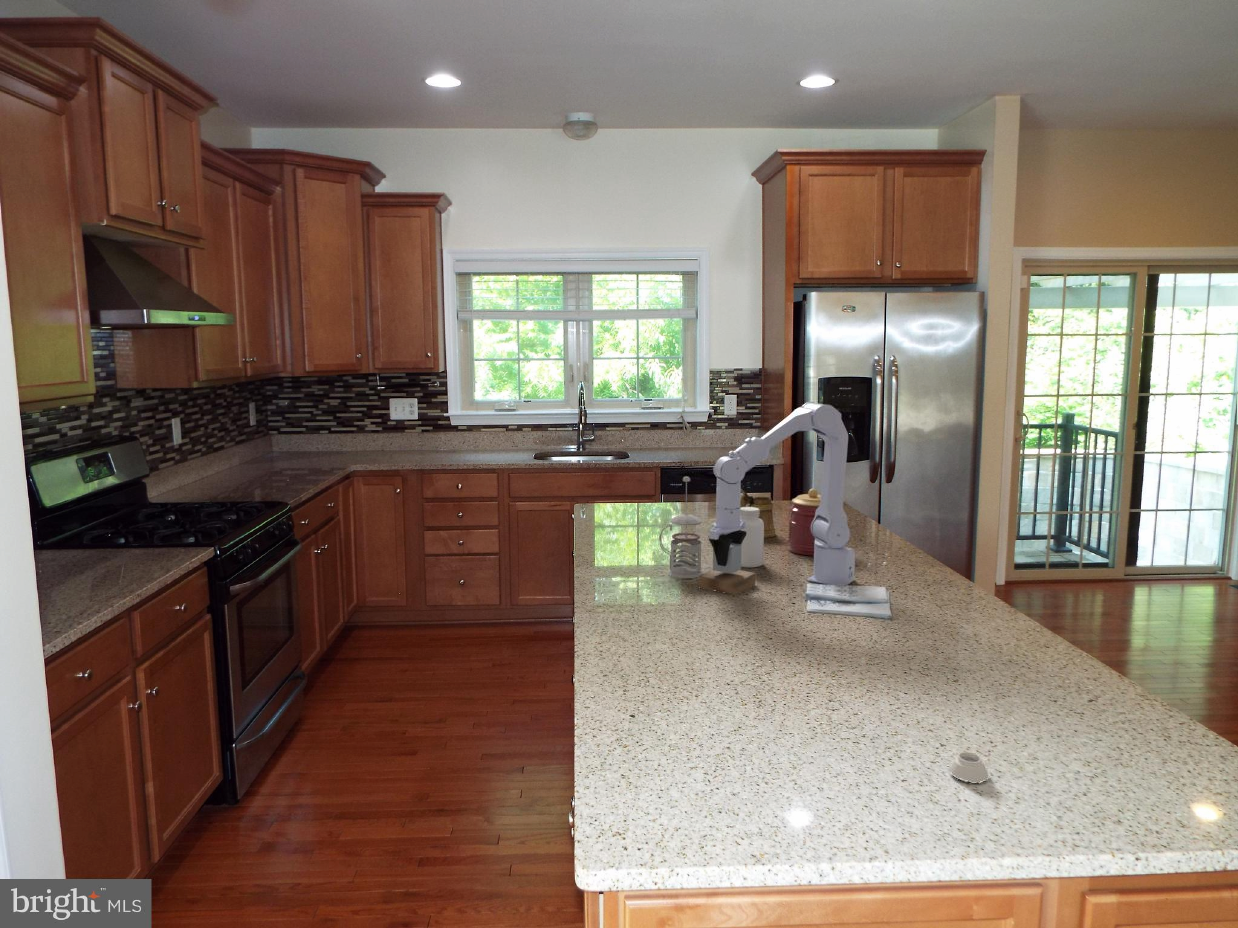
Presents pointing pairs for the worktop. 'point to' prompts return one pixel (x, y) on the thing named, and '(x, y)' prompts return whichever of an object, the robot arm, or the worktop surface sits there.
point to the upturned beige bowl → (969, 767)
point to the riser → (727, 581)
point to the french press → (684, 547)
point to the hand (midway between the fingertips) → (727, 562)
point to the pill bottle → (752, 538)
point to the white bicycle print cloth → (848, 600)
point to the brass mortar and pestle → (761, 511)
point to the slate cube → (730, 560)
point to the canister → (803, 523)
